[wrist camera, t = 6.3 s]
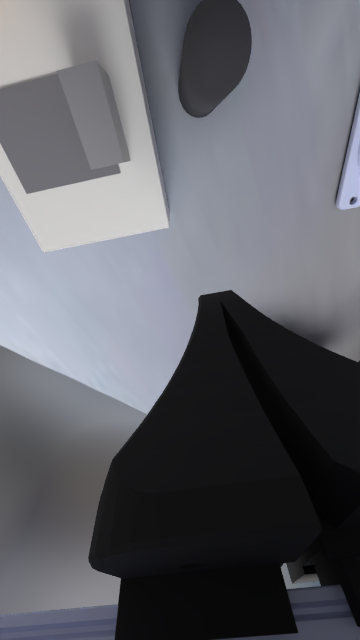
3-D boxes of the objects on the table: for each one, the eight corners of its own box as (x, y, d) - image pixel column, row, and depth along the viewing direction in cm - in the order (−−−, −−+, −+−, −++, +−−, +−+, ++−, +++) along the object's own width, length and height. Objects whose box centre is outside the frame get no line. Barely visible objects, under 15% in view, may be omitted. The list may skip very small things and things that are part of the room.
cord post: (219, 52, 12) (252, -17, 7) (222, 112, 13) (251, 89, 8) (174, 63, 12) (177, 4, 7) (182, 121, 13) (188, 104, 9)
